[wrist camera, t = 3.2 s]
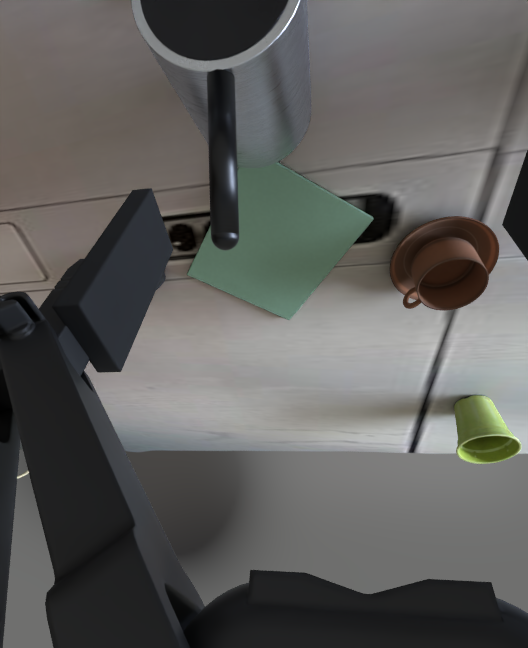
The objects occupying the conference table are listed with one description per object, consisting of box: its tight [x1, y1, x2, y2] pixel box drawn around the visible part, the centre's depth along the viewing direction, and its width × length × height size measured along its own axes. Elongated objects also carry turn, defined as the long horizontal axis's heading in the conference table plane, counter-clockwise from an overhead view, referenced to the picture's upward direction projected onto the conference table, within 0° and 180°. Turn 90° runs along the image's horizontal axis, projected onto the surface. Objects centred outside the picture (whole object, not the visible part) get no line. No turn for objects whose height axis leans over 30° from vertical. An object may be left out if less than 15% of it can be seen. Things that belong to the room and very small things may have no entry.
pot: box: [131, 0, 311, 250], centre depth 25 cm, size 16×10×23 cm, turn 7°
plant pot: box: [454, 395, 521, 464], centre depth 64 cm, size 9×9×9 cm
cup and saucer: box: [390, 216, 499, 310], centre depth 44 cm, size 12×12×6 cm
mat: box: [187, 162, 373, 320], centre depth 48 cm, size 19×16×1 cm
